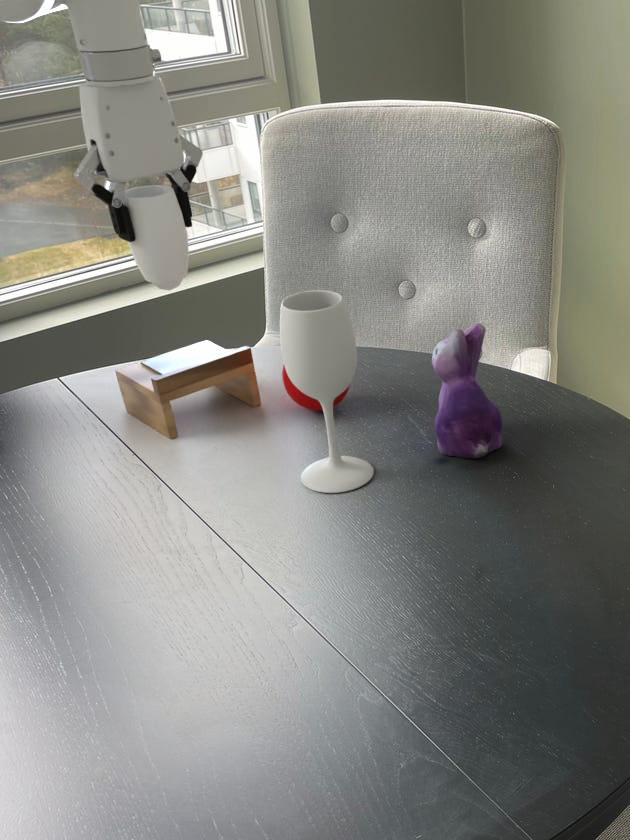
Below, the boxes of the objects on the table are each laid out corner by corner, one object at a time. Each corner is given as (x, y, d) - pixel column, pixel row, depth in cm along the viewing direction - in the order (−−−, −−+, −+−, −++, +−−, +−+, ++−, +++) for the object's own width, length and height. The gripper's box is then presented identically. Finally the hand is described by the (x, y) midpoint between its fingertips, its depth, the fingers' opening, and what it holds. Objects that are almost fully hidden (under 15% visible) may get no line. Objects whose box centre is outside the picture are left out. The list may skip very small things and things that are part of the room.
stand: (126, 412, 132) (110, 355, 127) (215, 380, 140) (203, 325, 135) (170, 439, 125) (155, 380, 120) (261, 404, 133) (250, 347, 128)
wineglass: (383, 461, 118) (363, 288, 105) (360, 496, 112) (336, 317, 99) (316, 455, 120) (289, 285, 107) (290, 490, 113) (257, 313, 100)
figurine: (444, 421, 126) (437, 306, 117) (516, 433, 123) (514, 316, 114) (410, 452, 120) (399, 334, 111) (485, 467, 116) (480, 345, 107)
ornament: (305, 428, 126) (293, 354, 120) (277, 404, 132) (264, 333, 126) (366, 410, 130) (357, 337, 124) (336, 387, 136) (326, 317, 130)
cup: (223, 356, 129) (189, 190, 116) (176, 373, 125) (135, 202, 112) (194, 343, 133) (157, 180, 120) (147, 359, 129) (104, 193, 117)
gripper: (170, 53, 115) (202, 211, 126) (28, 74, 106) (76, 242, 117) (203, 59, 111) (233, 222, 122) (58, 81, 102) (104, 255, 113)
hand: (155, 231), depth 119 cm, fingers closed on cup, 7 cm apart
